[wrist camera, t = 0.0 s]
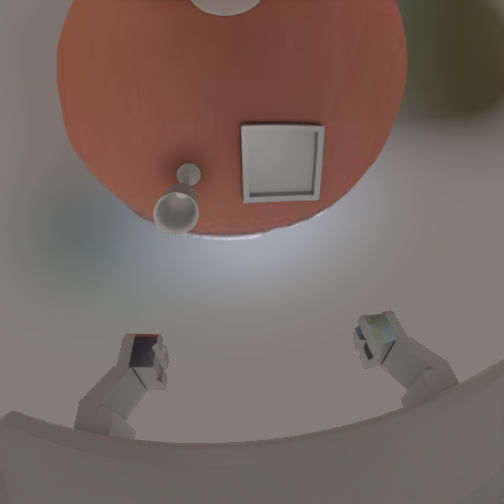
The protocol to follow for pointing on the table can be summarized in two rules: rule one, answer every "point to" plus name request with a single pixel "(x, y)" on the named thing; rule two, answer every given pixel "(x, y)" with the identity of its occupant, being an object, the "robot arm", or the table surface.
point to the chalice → (179, 203)
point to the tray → (281, 161)
